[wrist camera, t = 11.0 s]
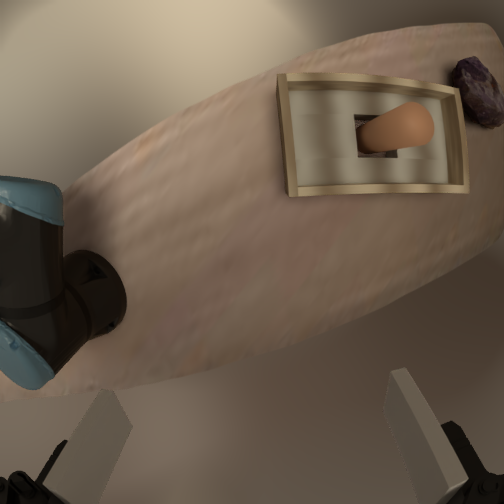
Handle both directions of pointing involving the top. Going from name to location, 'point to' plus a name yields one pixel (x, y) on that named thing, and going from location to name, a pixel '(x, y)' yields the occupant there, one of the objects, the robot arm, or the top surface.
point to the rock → (479, 92)
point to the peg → (396, 129)
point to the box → (344, 136)
